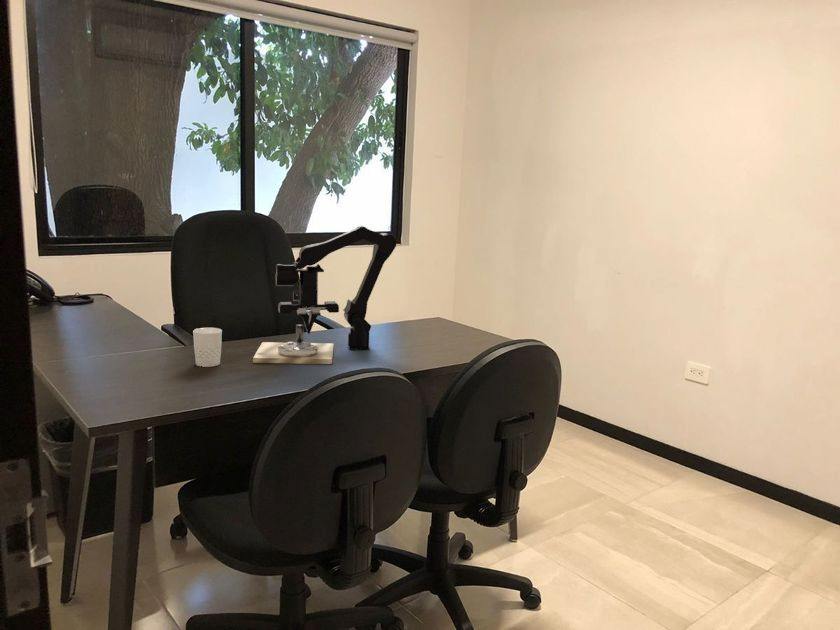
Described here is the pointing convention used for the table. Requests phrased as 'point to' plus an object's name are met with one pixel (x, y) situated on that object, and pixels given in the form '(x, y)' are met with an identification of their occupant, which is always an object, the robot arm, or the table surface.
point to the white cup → (207, 346)
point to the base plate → (270, 355)
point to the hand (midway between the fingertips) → (308, 333)
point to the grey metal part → (298, 346)
